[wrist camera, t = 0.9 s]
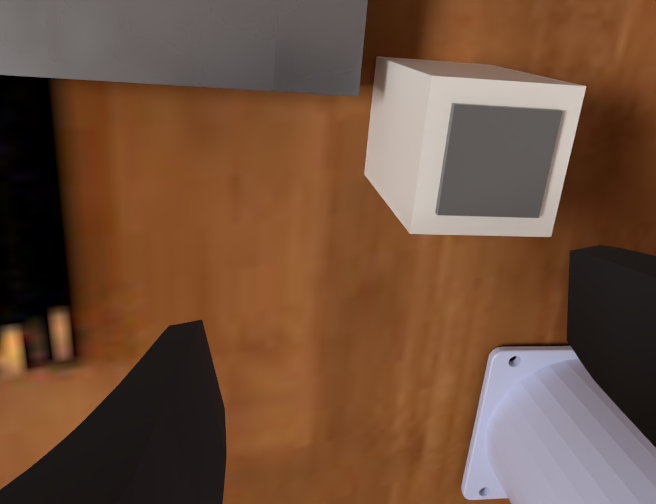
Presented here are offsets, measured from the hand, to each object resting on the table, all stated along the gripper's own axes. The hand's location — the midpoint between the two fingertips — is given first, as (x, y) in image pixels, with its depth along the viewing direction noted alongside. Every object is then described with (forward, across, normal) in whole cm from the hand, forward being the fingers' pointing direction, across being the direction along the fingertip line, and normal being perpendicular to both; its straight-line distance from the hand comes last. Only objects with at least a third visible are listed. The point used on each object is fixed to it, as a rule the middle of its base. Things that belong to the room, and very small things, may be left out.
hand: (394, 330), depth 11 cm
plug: (+10, -4, -2) cm, 11 cm away
